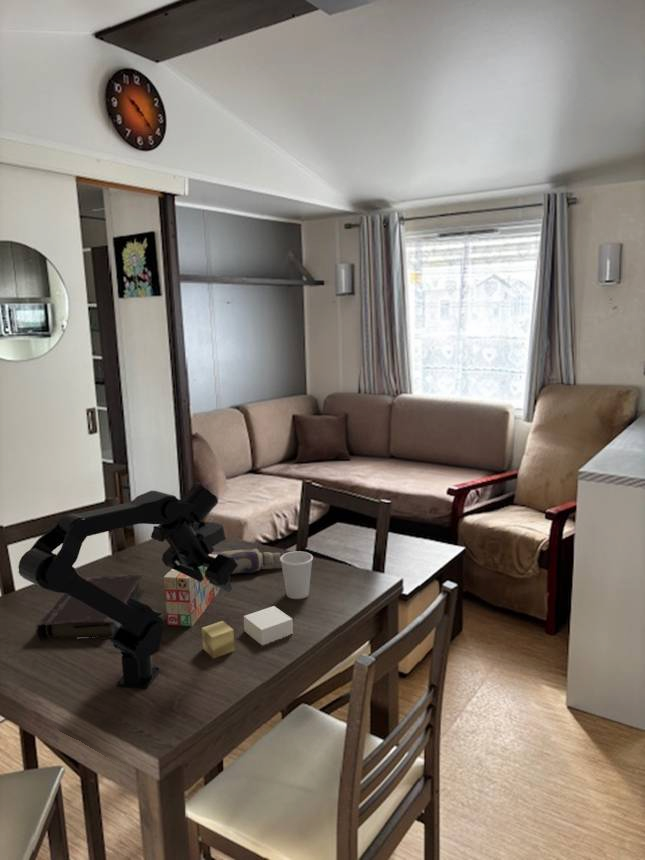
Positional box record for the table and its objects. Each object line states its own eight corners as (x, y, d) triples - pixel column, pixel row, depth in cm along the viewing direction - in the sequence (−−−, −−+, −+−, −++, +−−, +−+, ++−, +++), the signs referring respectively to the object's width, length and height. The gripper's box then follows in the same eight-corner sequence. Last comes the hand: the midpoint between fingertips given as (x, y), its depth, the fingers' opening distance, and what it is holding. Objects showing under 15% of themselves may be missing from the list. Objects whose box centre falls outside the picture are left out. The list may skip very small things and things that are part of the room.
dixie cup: (317, 588, 166) (316, 552, 164) (308, 603, 158) (307, 565, 156) (287, 585, 168) (286, 549, 166) (276, 599, 160) (275, 562, 158)
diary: (36, 643, 144) (33, 623, 143) (77, 594, 168) (75, 576, 167) (118, 640, 143) (116, 619, 143) (148, 591, 168) (146, 573, 167)
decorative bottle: (195, 583, 171) (193, 560, 170) (194, 572, 179) (192, 550, 177) (289, 572, 177) (288, 549, 176) (285, 562, 184) (284, 540, 183)
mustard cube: (234, 651, 137) (233, 629, 136) (213, 658, 134) (211, 637, 133) (223, 641, 141) (222, 620, 140) (203, 648, 138) (201, 627, 137)
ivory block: (293, 635, 143) (292, 619, 143) (262, 646, 139) (261, 629, 138) (274, 621, 150) (273, 605, 149) (244, 632, 145) (243, 615, 145)
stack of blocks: (200, 586, 170) (197, 542, 167) (222, 587, 168) (220, 543, 166) (166, 625, 149) (163, 576, 147) (192, 627, 148) (188, 577, 145)
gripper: (237, 519, 131) (266, 567, 140) (179, 503, 143) (210, 549, 152) (203, 560, 125) (236, 608, 134) (145, 540, 137) (179, 585, 146)
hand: (215, 585), depth 141 cm, fingers open, 9 cm apart
